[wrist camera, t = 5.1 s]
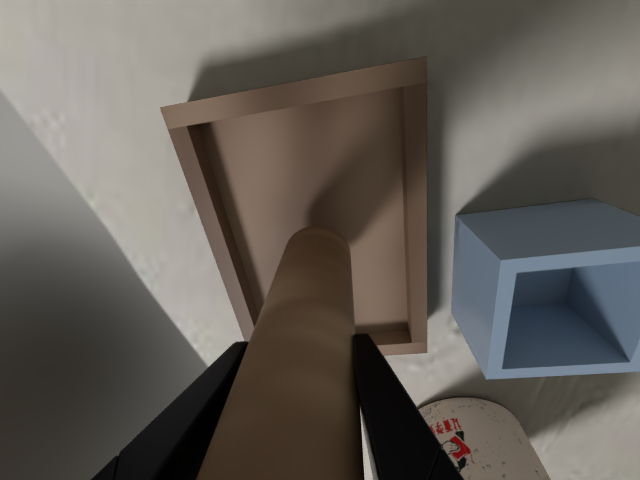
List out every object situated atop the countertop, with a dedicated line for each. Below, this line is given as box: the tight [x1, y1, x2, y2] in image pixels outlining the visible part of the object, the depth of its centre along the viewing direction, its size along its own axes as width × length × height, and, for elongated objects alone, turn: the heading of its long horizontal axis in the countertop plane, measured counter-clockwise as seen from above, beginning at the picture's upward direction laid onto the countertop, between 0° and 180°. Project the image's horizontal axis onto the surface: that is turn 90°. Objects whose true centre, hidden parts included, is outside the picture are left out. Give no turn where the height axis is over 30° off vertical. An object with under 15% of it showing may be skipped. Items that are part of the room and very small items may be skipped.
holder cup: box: [451, 199, 640, 380], centre depth 13 cm, size 6×6×4 cm
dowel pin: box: [196, 226, 364, 480], centre depth 8 cm, size 3×3×10 cm
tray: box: [160, 56, 427, 356], centre depth 14 cm, size 10×14×2 cm
